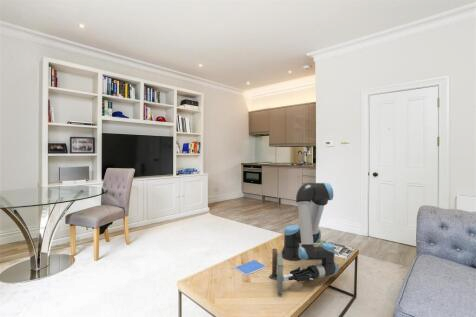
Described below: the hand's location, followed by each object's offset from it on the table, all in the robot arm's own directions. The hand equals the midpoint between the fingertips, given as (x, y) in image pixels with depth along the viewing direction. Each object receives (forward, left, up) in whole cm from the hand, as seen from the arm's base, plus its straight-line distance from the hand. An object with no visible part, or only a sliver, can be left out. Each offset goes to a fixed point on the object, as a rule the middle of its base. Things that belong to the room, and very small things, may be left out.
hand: (282, 278), depth 137 cm
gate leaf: (-3, +3, -6) cm, 7 cm away
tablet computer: (-29, +13, -8) cm, 33 cm away
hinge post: (-10, +11, -7) cm, 17 cm away
